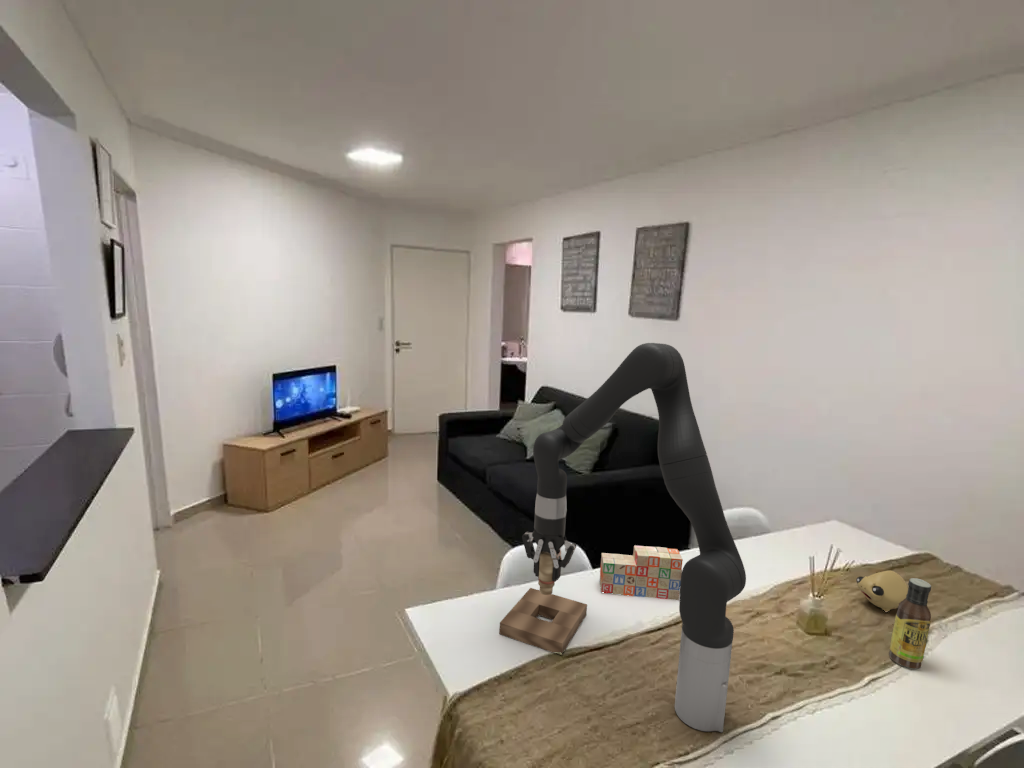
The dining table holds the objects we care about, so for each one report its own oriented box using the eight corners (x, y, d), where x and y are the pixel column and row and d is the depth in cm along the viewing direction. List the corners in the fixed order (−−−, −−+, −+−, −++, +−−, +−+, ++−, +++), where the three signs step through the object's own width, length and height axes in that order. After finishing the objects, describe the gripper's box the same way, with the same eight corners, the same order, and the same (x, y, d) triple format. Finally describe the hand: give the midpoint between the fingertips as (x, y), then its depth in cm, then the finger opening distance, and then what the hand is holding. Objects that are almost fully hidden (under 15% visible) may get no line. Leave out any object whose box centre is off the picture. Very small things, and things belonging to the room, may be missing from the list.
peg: (556, 589, 130) (558, 552, 128) (550, 597, 126) (552, 559, 124) (541, 585, 131) (543, 548, 130) (535, 592, 128) (537, 554, 126)
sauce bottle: (899, 669, 118) (912, 588, 115) (882, 651, 124) (894, 573, 121) (929, 672, 117) (943, 590, 114) (910, 654, 123) (923, 576, 120)
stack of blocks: (600, 594, 145) (603, 552, 143) (599, 582, 151) (601, 542, 149) (679, 600, 143) (683, 558, 141) (674, 588, 149) (678, 548, 147)
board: (586, 615, 134) (587, 604, 134) (561, 655, 118) (562, 643, 118) (529, 598, 141) (530, 587, 141) (499, 634, 125) (499, 622, 125)
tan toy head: (846, 598, 147) (851, 562, 146) (883, 596, 149) (888, 561, 147) (875, 618, 138) (880, 581, 136) (914, 616, 139) (920, 579, 138)
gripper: (517, 510, 125) (514, 576, 128) (573, 523, 119) (568, 593, 122) (530, 500, 132) (526, 563, 134) (583, 512, 126) (579, 578, 128)
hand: (546, 577), depth 128 cm, fingers closed on peg, 4 cm apart
